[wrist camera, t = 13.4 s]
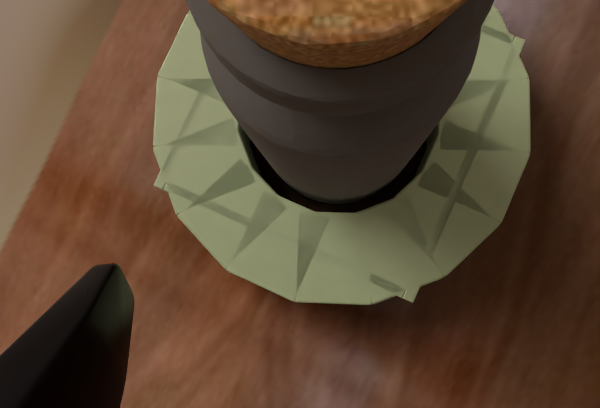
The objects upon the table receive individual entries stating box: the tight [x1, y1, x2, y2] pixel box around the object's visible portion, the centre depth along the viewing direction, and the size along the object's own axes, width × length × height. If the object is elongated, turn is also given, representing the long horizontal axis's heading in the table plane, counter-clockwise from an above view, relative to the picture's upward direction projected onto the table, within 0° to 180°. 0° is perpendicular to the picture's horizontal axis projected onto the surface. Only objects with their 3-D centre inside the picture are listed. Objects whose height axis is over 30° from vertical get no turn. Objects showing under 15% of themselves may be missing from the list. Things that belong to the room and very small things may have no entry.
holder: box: [153, 5, 531, 305], centre depth 20 cm, size 13×13×2 cm
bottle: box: [186, 0, 494, 204], centre depth 14 cm, size 6×6×15 cm
